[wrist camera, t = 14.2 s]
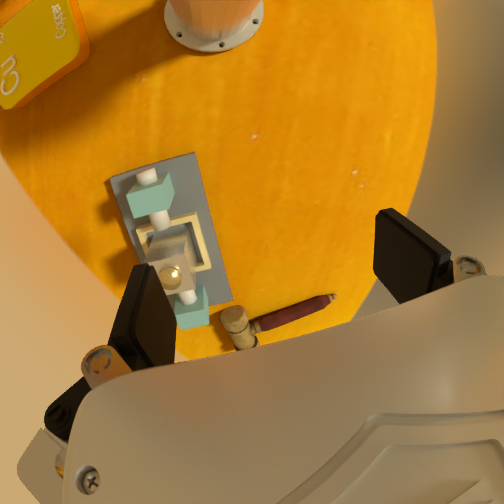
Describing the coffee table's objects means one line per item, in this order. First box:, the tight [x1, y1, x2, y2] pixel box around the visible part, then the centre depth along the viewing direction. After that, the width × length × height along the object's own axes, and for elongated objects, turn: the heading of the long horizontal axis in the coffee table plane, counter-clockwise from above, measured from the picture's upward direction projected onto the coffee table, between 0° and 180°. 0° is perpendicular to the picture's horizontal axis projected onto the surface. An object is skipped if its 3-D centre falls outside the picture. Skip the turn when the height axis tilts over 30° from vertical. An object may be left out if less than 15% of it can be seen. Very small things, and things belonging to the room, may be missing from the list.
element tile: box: [0, 0, 91, 110], centre depth 20 cm, size 15×15×5 cm
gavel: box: [220, 294, 337, 351], centre depth 50 cm, size 21×5×10 cm
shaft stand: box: [110, 152, 233, 330], centre depth 37 cm, size 24×12×8 cm, turn 10°
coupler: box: [144, 226, 197, 295], centre depth 36 cm, size 5×5×9 cm
